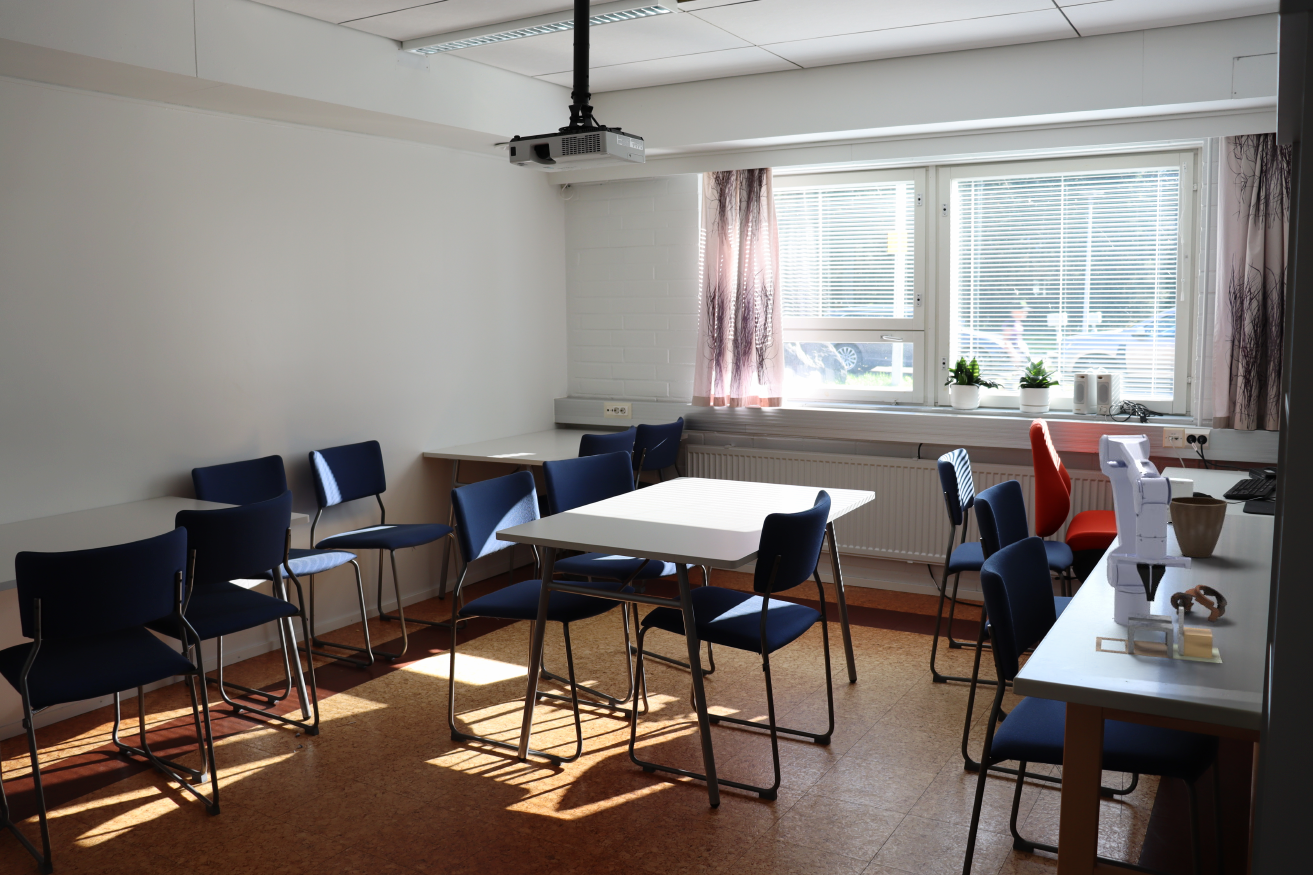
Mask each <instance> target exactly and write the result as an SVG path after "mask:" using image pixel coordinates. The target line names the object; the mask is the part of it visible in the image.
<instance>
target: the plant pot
mask: <svg viewBox="0 0 1313 875" xmlns="http://www.w3.org/2000/svg"><path fill="white" fill-rule="evenodd" d="M1227 507H1228V501H1227V500H1225V499H1219V498H1214V497H1213V498H1212V497H1199V496H1198V497H1197V496H1193V497H1176V498H1172V500H1171V503H1170V505H1169V508H1170V514H1171V520H1172V523H1171V525H1172V529H1173V532H1174V535H1175V538H1176V542H1177V544H1178V547H1179V550H1180V552H1181V554H1182V555H1183V556H1184V555H1185V556H1186V557H1188V556H1189V557H1188V558H1197V559H1198V558H1199V559H1200V558H1203V559H1205V558H1210V557H1212V555H1213V552H1214V551H1215V549H1216V545H1217V543H1218V540H1219V539H1220V535H1221V532H1222V530H1223V529H1222V528H1223V525H1224V523H1225V517H1226V513H1227V509H1228V508H1227ZM1185 556H1184V557H1185Z"/></svg>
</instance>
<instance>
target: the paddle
mask: <svg viewBox="0 0 1313 875" xmlns="http://www.w3.org/2000/svg"><path fill="white" fill-rule="evenodd" d="M1184 619H1185V614H1184V607H1179V615H1178V627H1177V640H1176V641H1177V643H1176V644H1177V646H1178V651H1179V654H1180V655H1184V634H1183V629H1184V627H1185V625H1184V624H1185V620H1184Z"/></svg>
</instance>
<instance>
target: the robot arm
mask: <svg viewBox="0 0 1313 875" xmlns="http://www.w3.org/2000/svg"><path fill="white" fill-rule="evenodd" d="M1150 453H1151V443H1150V440H1149V437H1148V436H1147V434H1133V435H1131V434H1130V435H1129V434H1128V435H1127V434H1124V435H1123V434H1122V435H1121V434H1120V435H1119V434H1118V435H1117V434H1115V435H1114V434H1113V435H1108V434H1103V435H1101V437H1100V438H1099V442H1098V455H1099V456H1098V457H1099V467H1100V470H1101V473H1102V474H1103V475H1104V476H1107V477H1109V481H1110V483H1111V490H1112V496H1113V505H1114V507H1113V508H1114V514H1115V515H1114V516H1115V524H1116V532H1117V542H1118V545H1117V546H1116V547H1115V548H1113V549H1112V550H1110V552H1108V555H1107V556H1106V579H1107V583H1108V584H1109V585H1110V587H1111V588H1114V597H1113V598H1114V601H1113V602H1114V607H1113V609H1114V610H1113V611H1114V612H1113V617H1112V620H1113V622H1114V623H1116V624H1118V625H1122V626H1125V627H1128V613H1140V614H1151V602H1153V603H1154V602H1155V598H1156V594H1157V590H1158V588H1159V585H1160V583H1161V581H1162V580H1163V577H1164V576H1165V573H1166V571H1167V570H1166V568H1184V569H1186V570H1187V569H1190V570H1191V569H1192V557H1187V556H1186V557H1185V556H1184V557H1183V556H1182V557H1181V556H1174V555H1167V553H1168V550H1167V549H1168V548H1167V546H1168V523H1167V506H1166V504H1167V505H1170V503H1171V500H1172V486H1171V482H1170V479H1169V478H1170V477H1169V476H1161V474H1160V472H1159V471H1158V469H1157V467H1156V466H1155V464H1154V463H1153V462H1152V461H1150V460H1149V458H1150Z"/></svg>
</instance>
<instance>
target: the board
mask: <svg viewBox="0 0 1313 875" xmlns="http://www.w3.org/2000/svg"><path fill="white" fill-rule="evenodd" d="M1095 638H1096V639H1095V652H1102V653H1113V654H1120V655H1129V654H1128V638H1125V639H1124V638H1115V637H1114V638H1113V637H1106V636H1105V637H1103V636H1096V637H1095ZM1102 640H1104V641H1105V640H1106V641H1115V642H1124V646H1125V647H1124V650H1125V651H1124V650H1113V649H1104V648H1102ZM1130 655H1134V656H1143V657H1153V658H1163V659H1164V658H1165V659H1170V658H1169V657H1167V645H1165V642H1160V641H1159V642H1158V641H1147V640H1139V639H1138V640H1137V639H1136V640H1135V639H1134V654H1130ZM1171 659H1174V660H1183V661H1184V660H1185V661H1194V662H1207V663H1214V664H1215V663H1216V664H1223V661H1222V658H1221V655H1220V651H1219V648H1218V647H1213V646H1212V658H1204V657H1194V656H1183V655H1180V654H1179V651H1178V646H1177V643H1173V658H1171Z"/></svg>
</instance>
